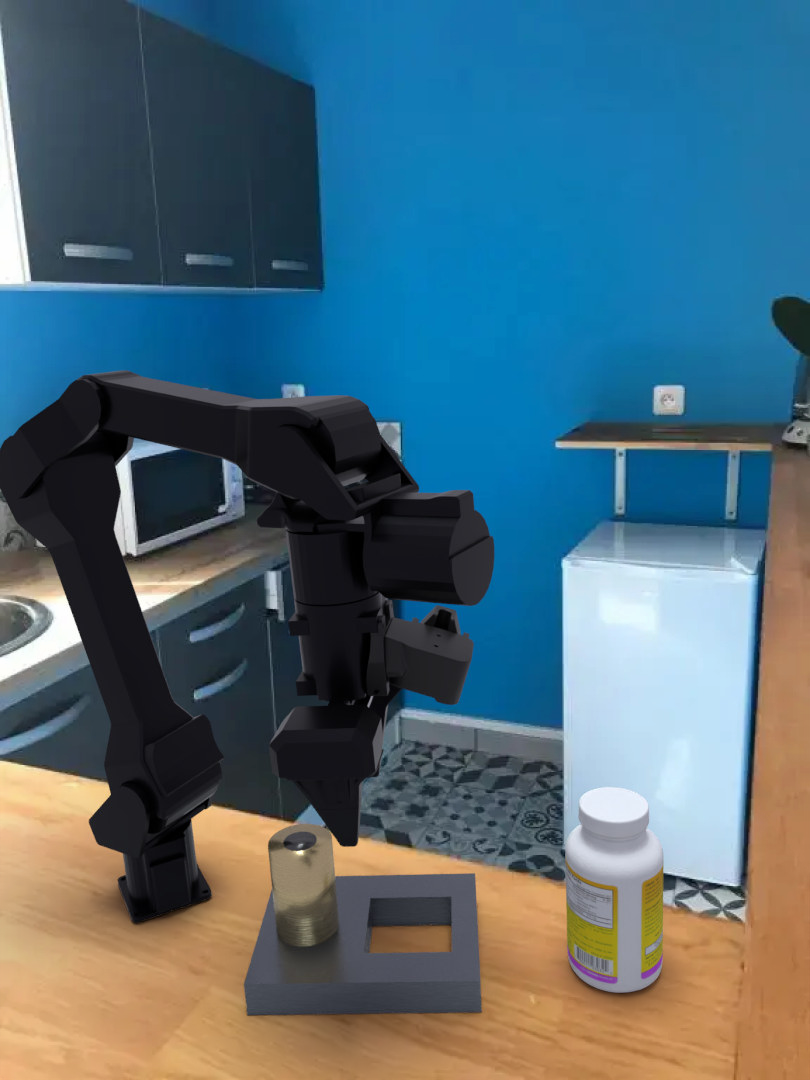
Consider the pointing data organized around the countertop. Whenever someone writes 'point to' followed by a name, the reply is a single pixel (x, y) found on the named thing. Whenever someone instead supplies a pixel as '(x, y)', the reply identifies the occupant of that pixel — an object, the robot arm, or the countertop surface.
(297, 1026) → the countertop surface
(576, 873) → the supplement bottle
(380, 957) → the jig
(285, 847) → the bushing
